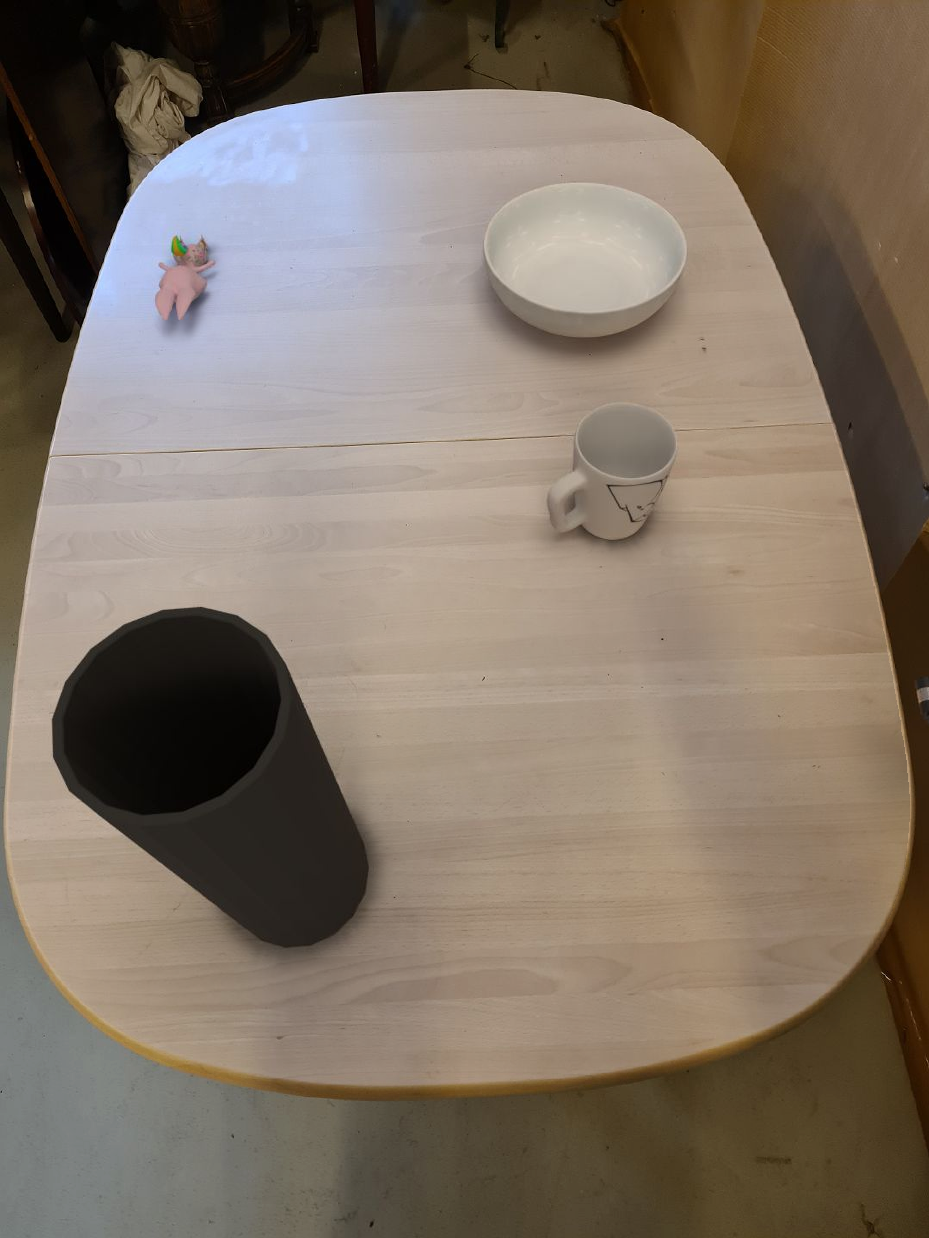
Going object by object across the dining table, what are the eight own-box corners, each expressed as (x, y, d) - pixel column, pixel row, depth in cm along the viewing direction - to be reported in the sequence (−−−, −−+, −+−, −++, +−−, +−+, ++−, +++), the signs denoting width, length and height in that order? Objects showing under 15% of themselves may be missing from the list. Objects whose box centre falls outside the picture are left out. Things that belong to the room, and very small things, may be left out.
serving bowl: (713, 292, 93) (729, 237, 87) (591, 397, 86) (599, 344, 80) (566, 211, 100) (572, 155, 94) (442, 301, 93) (440, 246, 87)
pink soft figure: (171, 262, 99) (147, 335, 90) (155, 211, 94) (128, 282, 85) (225, 260, 99) (207, 333, 90) (212, 208, 95) (191, 279, 85)
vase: (225, 953, 60) (31, 835, 34) (232, 812, 65) (68, 616, 39) (371, 940, 60) (290, 813, 34) (367, 801, 65) (293, 598, 39)
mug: (571, 581, 75) (582, 512, 66) (519, 515, 79) (524, 441, 70) (675, 525, 78) (699, 452, 69) (620, 464, 81) (637, 387, 73)
